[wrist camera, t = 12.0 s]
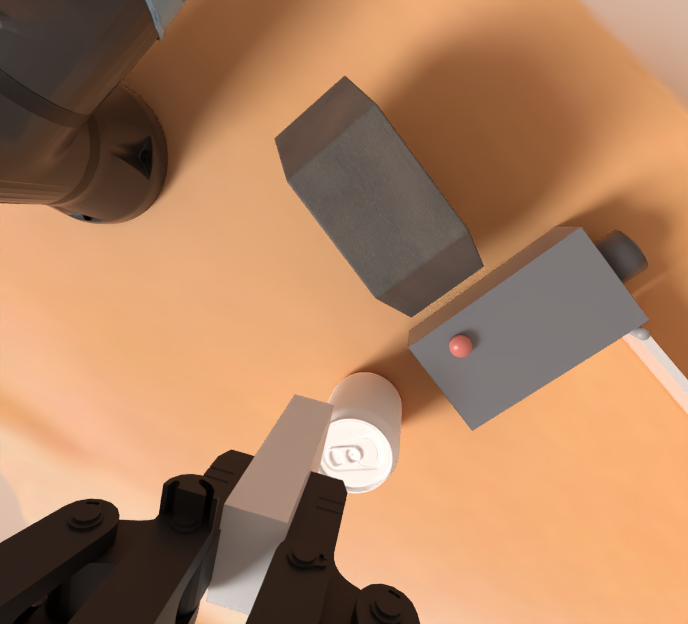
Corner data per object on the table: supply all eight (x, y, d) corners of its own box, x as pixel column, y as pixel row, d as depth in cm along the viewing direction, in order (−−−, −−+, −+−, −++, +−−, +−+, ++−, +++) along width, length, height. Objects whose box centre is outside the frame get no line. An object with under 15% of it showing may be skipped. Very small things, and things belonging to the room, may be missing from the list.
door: (705, 407, 46) (751, 437, 40) (688, 418, 46) (732, 449, 40) (620, 307, 45) (653, 320, 39) (604, 318, 46) (635, 334, 39)
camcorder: (464, 403, 50) (473, 435, 42) (409, 330, 49) (408, 350, 42) (645, 286, 45) (692, 299, 37) (586, 204, 44) (621, 200, 37)
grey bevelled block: (268, 121, 43) (295, 215, 27) (332, 63, 41) (402, 127, 25) (369, 239, 53) (433, 359, 37) (423, 196, 51) (516, 303, 35)
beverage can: (409, 431, 52) (407, 491, 40) (340, 442, 53) (320, 504, 42) (393, 363, 50) (386, 405, 39) (323, 377, 52) (297, 421, 40)
